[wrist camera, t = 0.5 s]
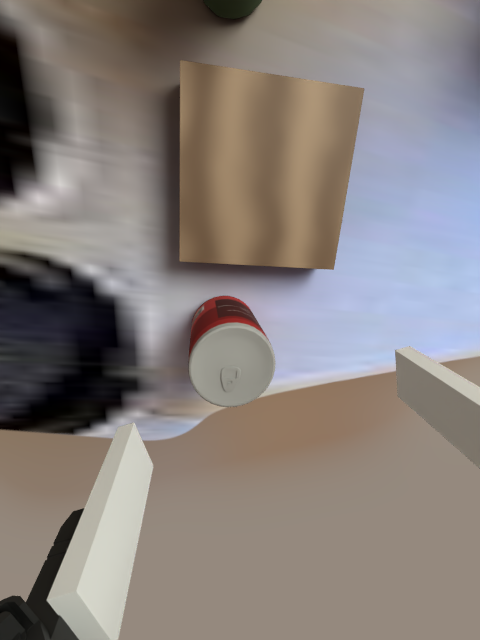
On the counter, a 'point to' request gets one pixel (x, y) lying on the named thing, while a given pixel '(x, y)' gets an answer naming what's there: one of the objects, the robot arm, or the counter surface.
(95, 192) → the counter surface
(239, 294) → the counter surface
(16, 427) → the counter surface
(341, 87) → the walnut base
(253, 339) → the canned food
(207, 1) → the character mug
